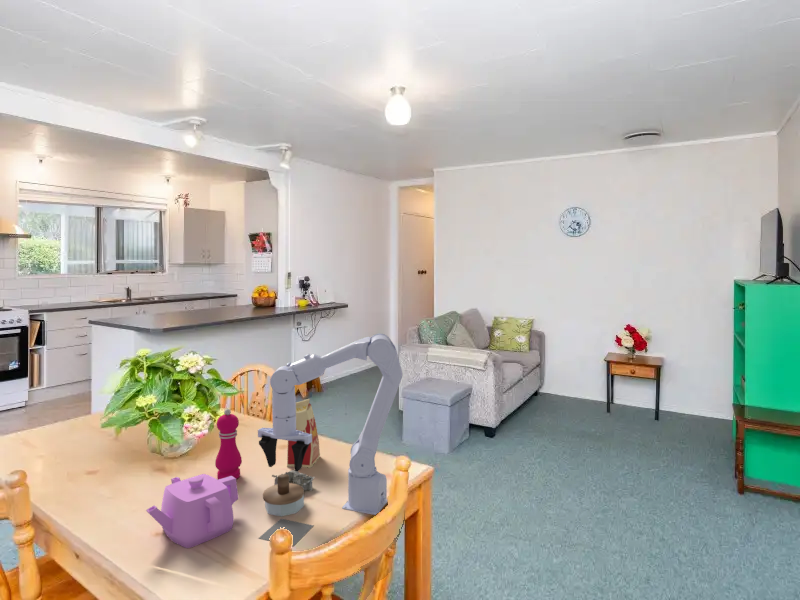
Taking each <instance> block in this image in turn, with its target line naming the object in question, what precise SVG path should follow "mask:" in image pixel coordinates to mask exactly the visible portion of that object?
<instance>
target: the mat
mask: <svg viewBox="0 0 800 600" xmlns="http://www.w3.org/2000/svg"><path fill="white" fill-rule="evenodd" d="M314 526H315V525H314V524H309V523H304V522H301V521H300V522H299V521H294V520H289V519H286V518H284V519H283V518H280V519H278V520H277V521H276V522H275V523H274V524H273V525H271V526H270V527H269V528H268V529H267V530H265V532H264V533H262V535H260V536H259V537H258V538H257V539H259V540H263V541H268V542H270V541H269V538H270V536H271V535H272V534H273V533H274V532H275V531H276V530H277V529H280V527H281V528H283V527H285V528H284V529H287V530H289V531H290V532H291V534H292V535H293V546H292V547H295V545H297V543H298V542H299V541H301V540H302V538H303V537H305V535H307V533H308V532H309V531H310V530H311V529H312V528H313V527H314Z"/></svg>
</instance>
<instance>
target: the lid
mask: <svg viewBox="0 0 800 600" xmlns="http://www.w3.org/2000/svg"><path fill="white" fill-rule="evenodd" d="M281 474H282V475H281ZM281 474H279V475H277V477H278V484H277V485H271V486H268V487H267V488H266V489H265V490H264V491H263V493H262V499H263V501H264V503H265V502H267V503H269V504H273V505H285V504H290V503H293V502H296V501H298V500H299V499H301V498H302V497H303V495H304V496H305V494H304V493H305V490H304V489H303V488H302V487H301V486H300V485H297V484H293V482H291V483H290V481H289V475H287V474H285V473H284V474H283V473H281Z"/></svg>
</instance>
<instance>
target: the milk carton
mask: <svg viewBox="0 0 800 600" xmlns="http://www.w3.org/2000/svg"><path fill="white" fill-rule="evenodd" d="M310 399H311V398H307V399H304V400H301V401H297V402H296V430H299V431H302V432H304V433H308V434H312V442H311V443H310V445H309V447H308V449H307V451H306V453H305V456H304V459H303V463H302V468H305V469H307V467H308V468H309V469H310V468H313V466H314V465H315V464H316V463H317V461H318V460H319V459H320V457H321V453H320V440H319V434H318V427H317V422H316V418H315V414H314V409H313V407H312V404H311V403H310ZM295 443H296V441H289V440H287V453H286V454H287V457H286V460H287V463H286V466H287V467H292V468H294V454H293V450H292V445H294V444H295ZM319 456H320V457H319ZM317 459H318V460H317ZM316 460H317V461H316ZM314 463H315V464H314ZM313 464H314V465H313Z"/></svg>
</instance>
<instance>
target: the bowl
mask: <svg viewBox="0 0 800 600" xmlns="http://www.w3.org/2000/svg"><path fill="white" fill-rule="evenodd" d="M304 506H305V494H304V495H303V497H302V498H301V499H299V500H298V501H296V502H293V503H290V504H285V505H273V504H269V503H267V502H265V501H264V507H265V510H266V512H267V514H268V515H272V516H277V517H284V516H288V515H293V514H295V515H296V514H297V513H298V512H299V511H300V510H301V509H303V508H304Z"/></svg>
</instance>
